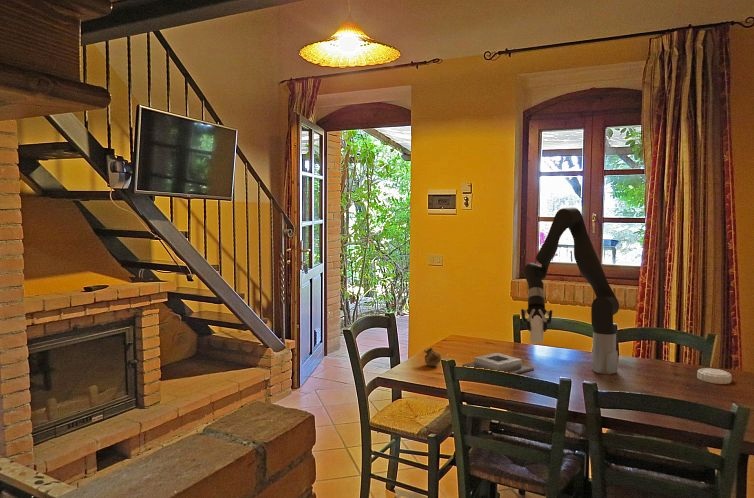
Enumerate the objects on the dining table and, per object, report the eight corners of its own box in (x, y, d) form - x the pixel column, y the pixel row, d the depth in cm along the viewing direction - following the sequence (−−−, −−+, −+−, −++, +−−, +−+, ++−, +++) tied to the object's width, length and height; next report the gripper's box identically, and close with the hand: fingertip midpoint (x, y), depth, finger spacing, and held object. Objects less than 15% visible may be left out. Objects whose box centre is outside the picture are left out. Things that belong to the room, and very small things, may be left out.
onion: (424, 368, 240) (424, 350, 240) (423, 363, 248) (423, 346, 248) (441, 368, 240) (441, 351, 240) (440, 363, 248) (440, 346, 248)
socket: (533, 370, 237) (533, 360, 237) (499, 379, 225) (499, 368, 224) (496, 359, 255) (496, 349, 255) (462, 366, 243) (462, 357, 242)
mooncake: (737, 385, 216) (737, 376, 216) (704, 383, 218) (704, 375, 218) (723, 376, 228) (723, 367, 228) (692, 374, 230) (692, 366, 230)
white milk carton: (540, 313, 243) (546, 315, 237) (539, 339, 244) (545, 342, 238) (527, 313, 241) (533, 316, 236) (527, 340, 242) (533, 343, 237)
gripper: (520, 294, 248) (520, 325, 237) (553, 295, 244) (554, 326, 234) (519, 303, 253) (520, 334, 243) (551, 304, 250) (553, 335, 239)
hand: (537, 330), depth 238 cm, fingers closed on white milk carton, 6 cm apart
